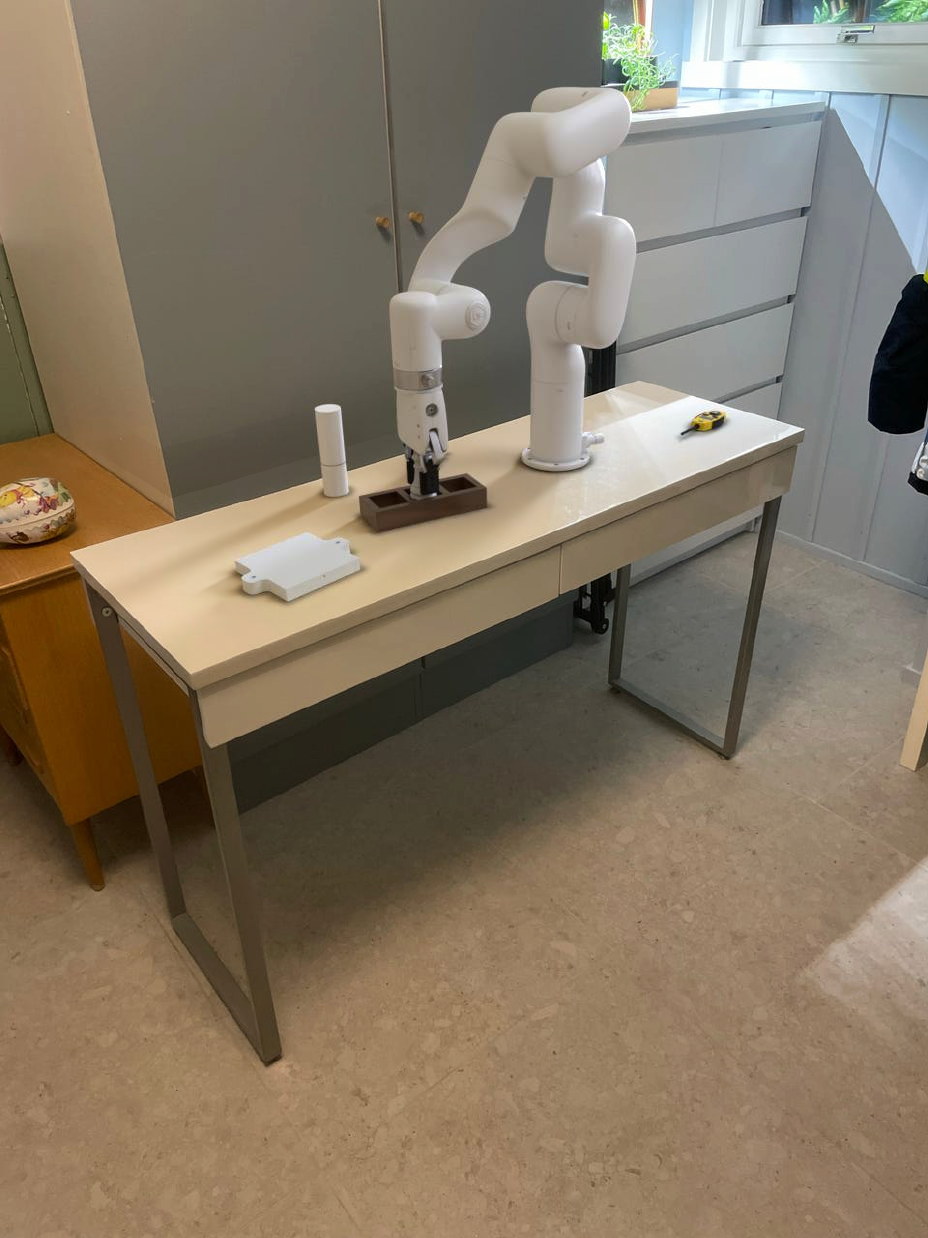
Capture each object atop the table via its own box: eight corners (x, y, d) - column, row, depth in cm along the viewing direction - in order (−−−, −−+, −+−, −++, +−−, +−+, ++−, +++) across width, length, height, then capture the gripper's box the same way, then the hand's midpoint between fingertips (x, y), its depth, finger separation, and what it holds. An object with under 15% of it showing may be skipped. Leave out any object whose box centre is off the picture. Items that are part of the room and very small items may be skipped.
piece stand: (360, 515, 153) (358, 495, 151) (467, 491, 160) (466, 472, 158) (377, 532, 147) (375, 512, 145) (487, 507, 155) (487, 487, 153)
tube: (344, 497, 159) (336, 412, 152) (320, 496, 160) (311, 411, 152) (351, 487, 163) (344, 404, 155) (328, 486, 164) (319, 403, 156)
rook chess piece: (424, 489, 155) (422, 443, 151) (442, 496, 152) (441, 450, 148) (404, 497, 152) (401, 451, 148) (422, 504, 150) (420, 458, 146)
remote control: (731, 411, 187) (692, 431, 178) (730, 421, 188) (691, 440, 179) (710, 407, 190) (670, 425, 181) (709, 416, 191) (669, 435, 182)
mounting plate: (272, 608, 127) (270, 596, 126) (221, 577, 135) (219, 565, 134) (373, 563, 138) (372, 552, 137) (321, 537, 146) (319, 526, 145)
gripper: (464, 387, 137) (466, 501, 146) (417, 360, 150) (422, 467, 159) (418, 395, 134) (423, 511, 144) (374, 367, 147) (382, 475, 157)
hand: (423, 486), depth 151 cm, fingers closed on rook chess piece, 4 cm apart
